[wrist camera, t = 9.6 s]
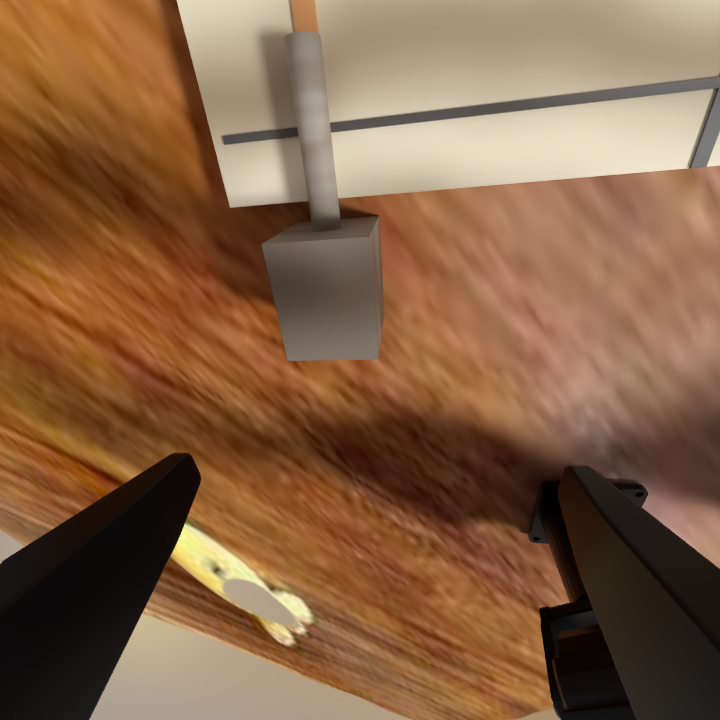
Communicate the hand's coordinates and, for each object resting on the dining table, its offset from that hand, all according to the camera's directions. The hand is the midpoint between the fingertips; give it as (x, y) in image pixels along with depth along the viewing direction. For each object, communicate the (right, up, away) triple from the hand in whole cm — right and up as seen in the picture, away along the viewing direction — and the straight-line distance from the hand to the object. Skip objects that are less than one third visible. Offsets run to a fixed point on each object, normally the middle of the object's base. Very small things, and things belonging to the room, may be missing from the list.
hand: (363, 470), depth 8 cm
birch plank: (+5, +14, +5) cm, 15 cm away
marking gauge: (-1, +10, +8) cm, 13 cm away
